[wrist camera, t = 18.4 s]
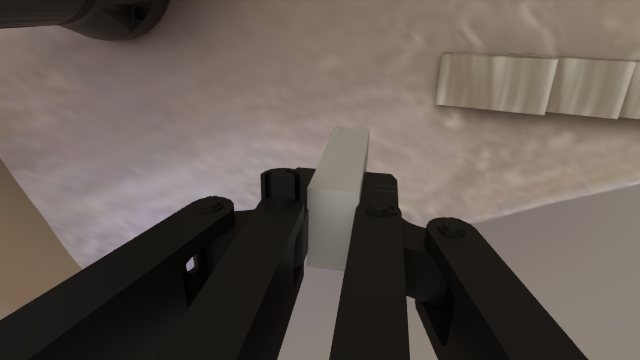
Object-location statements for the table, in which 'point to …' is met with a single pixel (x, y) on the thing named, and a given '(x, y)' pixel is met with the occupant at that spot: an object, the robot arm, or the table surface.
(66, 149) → the table surface
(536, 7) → the table surface
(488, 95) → the domino
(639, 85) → the domino
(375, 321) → the robot arm
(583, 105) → the domino
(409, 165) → the table surface
